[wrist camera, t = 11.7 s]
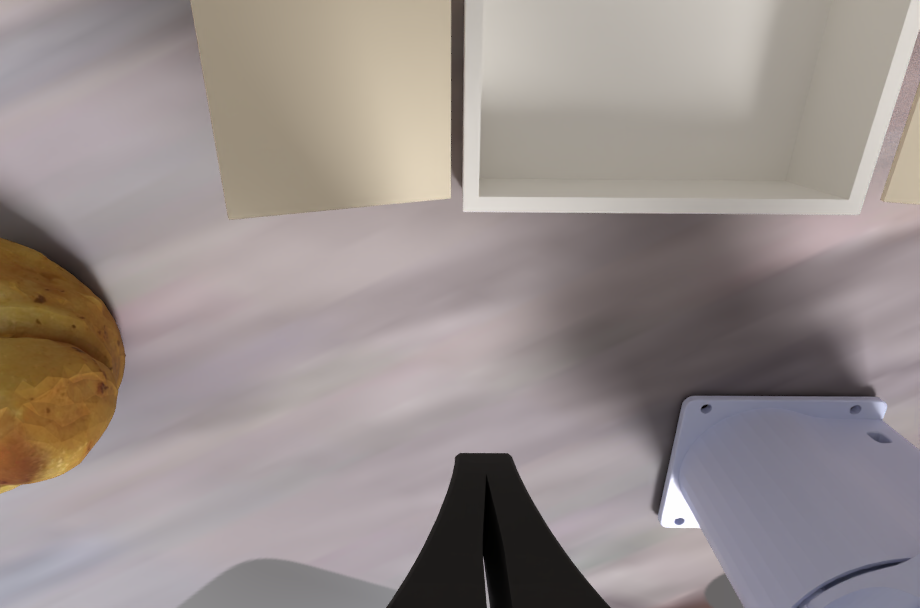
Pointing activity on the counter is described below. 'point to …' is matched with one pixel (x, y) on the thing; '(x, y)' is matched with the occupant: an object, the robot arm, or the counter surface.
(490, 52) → the carton
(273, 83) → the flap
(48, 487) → the counter surface
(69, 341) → the bread roll
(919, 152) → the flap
